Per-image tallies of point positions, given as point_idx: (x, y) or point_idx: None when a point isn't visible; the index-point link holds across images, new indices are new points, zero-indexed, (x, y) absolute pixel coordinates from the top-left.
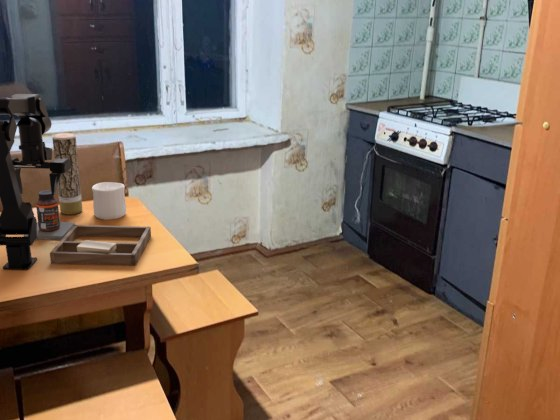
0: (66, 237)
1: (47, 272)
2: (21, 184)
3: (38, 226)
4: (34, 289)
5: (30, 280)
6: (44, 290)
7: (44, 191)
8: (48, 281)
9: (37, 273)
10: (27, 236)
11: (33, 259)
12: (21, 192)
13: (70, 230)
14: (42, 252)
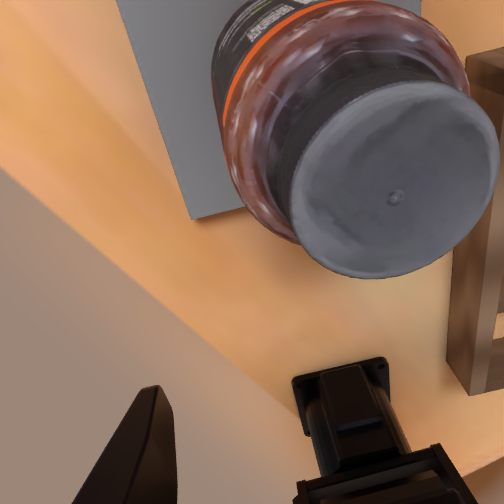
0: (500, 263)
1: (455, 401)
2: (131, 497)
3: (178, 55)
4: (453, 464)
5: (423, 442)
6: (480, 459)
7: (360, 174)
8: (476, 431)
9: (426, 413)
10: (213, 211)
11: (380, 374)
12: (168, 422)
13: (500, 174)
14: (373, 303)
